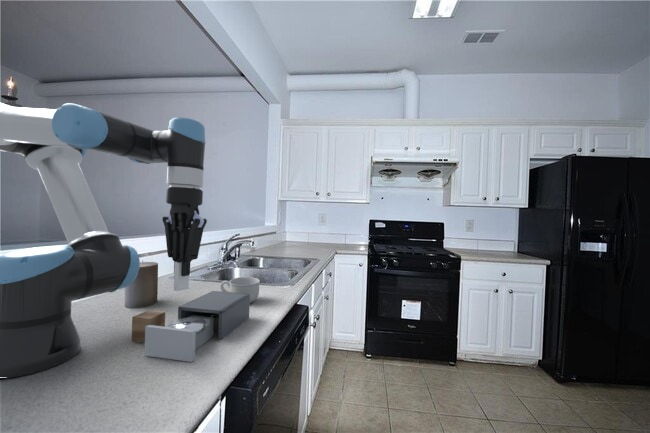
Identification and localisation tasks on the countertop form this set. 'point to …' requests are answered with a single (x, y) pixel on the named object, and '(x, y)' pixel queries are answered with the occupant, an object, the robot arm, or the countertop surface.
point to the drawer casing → (219, 309)
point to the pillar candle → (143, 286)
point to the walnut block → (146, 323)
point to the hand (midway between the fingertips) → (181, 289)
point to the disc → (189, 324)
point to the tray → (176, 341)
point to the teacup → (243, 286)
